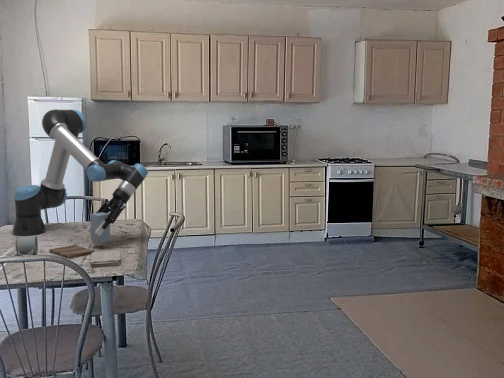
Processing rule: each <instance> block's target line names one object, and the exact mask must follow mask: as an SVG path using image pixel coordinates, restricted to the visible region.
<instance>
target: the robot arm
mask: <svg viewBox="0 0 504 378" xmlns="http://www.w3.org/2000/svg"><path fill="white" fill-rule="evenodd" d="M41 125H42V126H41V127H42V129H43V131H44V132H45V134H46V135H47V136H48V137H49V138H50V139H51V140H54V144H53V148H52V151H51V156H50V158H49V163H48V167H47V171H46V174H45V178H44V179H42V180H41V181H40V185H37V184H30V185H24V186H19V187H18V188H16V189H15V191H14V202H15V203H14V205H15V206H14V207H15V221H14V224H13V228H12V234H13V235H14V236H20V237H27V236H34V235H36V236H37V235H41V234H44V233H45V232H46V231H47V230H46V225H45V223H44V220H43V218H42V210H46V209H55V208H58V207H60V206H63V205H64V204H65V202H66V200H67V198H68V196H67V195H68V192H67V189H66V186H65V184H64V178H65V175H66V170H67V168H68V163H69V160H70V156H72V158H73V159H74V160H76V162H77V163H79V164H80V166H81V167H82V168H84V169H85V170H86V176H87V178H88V180H89V181H90V182H93V183H94V182H95V183H96V182H98V183H99V182H104V181H109V180H110V181H111V180H117V179H119V180H122V181H121V182H120V184H118V186H117V188H115V190H114V191H113V193H112V194H111V195H112V198H111V199H110V200H108V199H106V200H104V202H103V203H102V205H101V206H100V207H99V208H98V210H97V211H96V212H95V213H100V212H103V213H107V214H109V215H108V216H107V218H106V219H104V220H105V221H103V222H102V224H101V225H100V226H99V228H98V229H97V230H96V231H95V233H96V234H97V235H98V236H100V235H101V234H102V233H103V231H104V230H105V229H106V228H107V226H108V225H109V224H110V225H111V224H114V223H116V221H117V219H118V218H119V216H120V215H121V213H122V212H123V211H124V210H125V208H127V207H126V204H127V203H128V202H129V200H130V199H131V197H132V196H133V195H134V194H135V192H136V191H137V190H138V188H139V187H140V185H141V184H142V183H143V181H144V180H145V179H146V177H147V176H148V174H149V171H148V170H147V167H145V166H144V165H143V164H141V163H135V164H134V165H133V166H132V165H128V164H126V163H124V162H121V161H119V160H114V159H112V160H110V161H109V162H107V163H104V162H103V161H101V160H100V159H99V157H97V156H96V155H95V154H94V153H93V152H92V151H91V150H90V149H89V148H88V147H87V146H86V145H85V144H84V143H83V142H81V140H80V139H78V138H79V135H80V134H83V132H85V130H86V127H87V120H86V118H85V115H84V114H83V112H81V111H79V110H76V109H55V108H54V109H50V110H49V111H47V112H46V113H45V114H43V117H42V119H41ZM86 231H87V232H89V234H91V224H90V225H89V226H88V227H87V229H86Z"/></svg>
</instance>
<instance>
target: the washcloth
mask: <svg viewBox="0 0 504 378" xmlns="http://www.w3.org/2000/svg"><path fill="white" fill-rule="evenodd" d="M120 252H121V251H120V250H109V251H94V252H93V253H91V254H90V259H89V260H90V261H89V266H90V268H105V267H117V266H120V264H121V253H120Z"/></svg>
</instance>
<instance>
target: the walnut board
mask: <svg viewBox="0 0 504 378" xmlns="http://www.w3.org/2000/svg"><path fill="white" fill-rule="evenodd" d="M48 252H49V253H50V254H53V255H56V254H57V255H56V256H59V257H62V258H64V257H65V259H67V258H69V259H68V260H71V259H75V257H76V258H79V257H80V258H81V257H85V256H91V253H93V252H95V250H94V249H90V248H87V247H84V246H82V245H81V246H80V245H78V244H73V245H65V246H61V247H57V248H56V247H55V248H51V249H49V251H48ZM84 255H85V256H84Z"/></svg>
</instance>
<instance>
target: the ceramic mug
mask: <svg viewBox="0 0 504 378" xmlns="http://www.w3.org/2000/svg"><path fill="white" fill-rule="evenodd" d="M38 244H39V243H38V237H37V235H27V236H20V237H17V238H16V239H15V252H16V253H17V255H18V257H20V256H23V255H31V256H33V255H34V254H38V250H39V245H38Z"/></svg>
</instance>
